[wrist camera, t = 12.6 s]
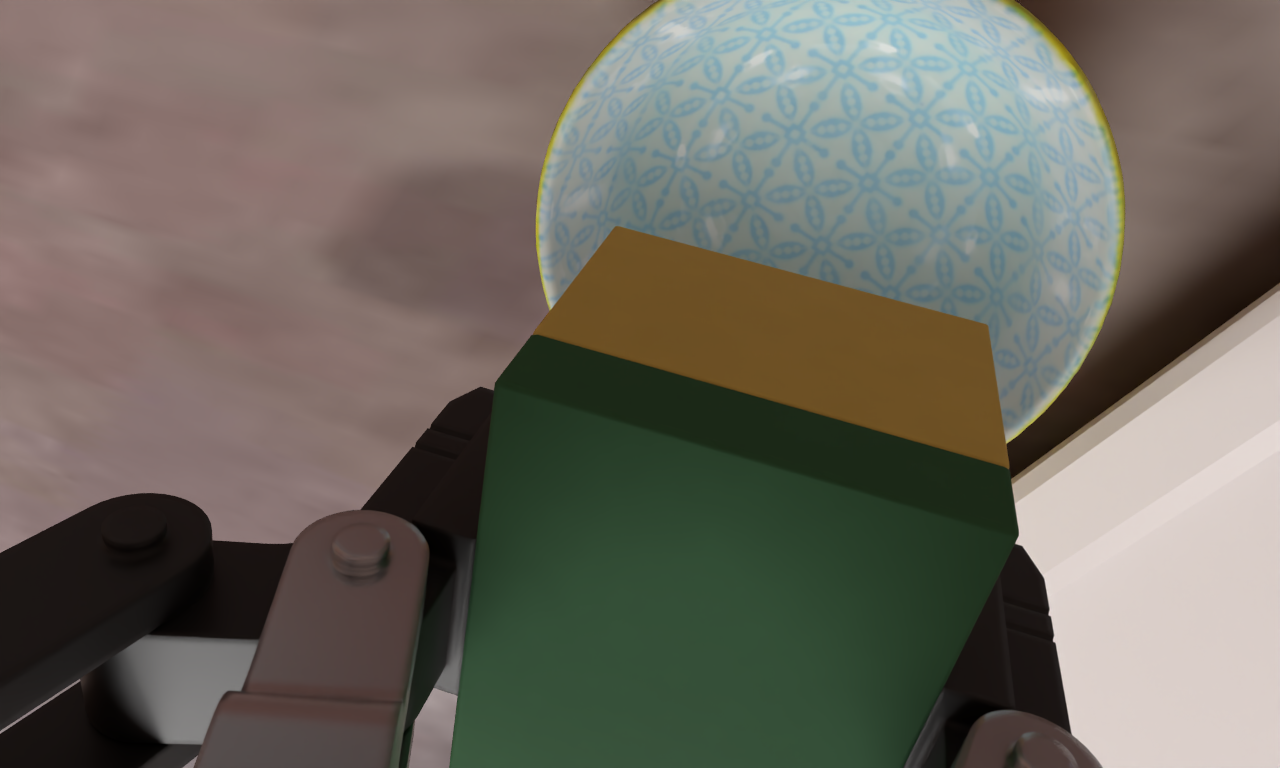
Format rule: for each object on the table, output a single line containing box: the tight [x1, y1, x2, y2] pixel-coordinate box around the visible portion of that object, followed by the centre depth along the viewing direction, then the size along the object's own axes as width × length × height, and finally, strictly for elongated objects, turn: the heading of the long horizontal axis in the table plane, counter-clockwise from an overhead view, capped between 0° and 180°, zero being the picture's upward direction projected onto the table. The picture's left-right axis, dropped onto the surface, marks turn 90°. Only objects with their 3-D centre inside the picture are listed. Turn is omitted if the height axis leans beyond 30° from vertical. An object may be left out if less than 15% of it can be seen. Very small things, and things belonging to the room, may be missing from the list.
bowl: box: [536, 0, 1125, 444], centre depth 22 cm, size 11×12×6 cm
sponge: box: [449, 226, 1019, 768], centre depth 11 cm, size 6×4×4 cm
